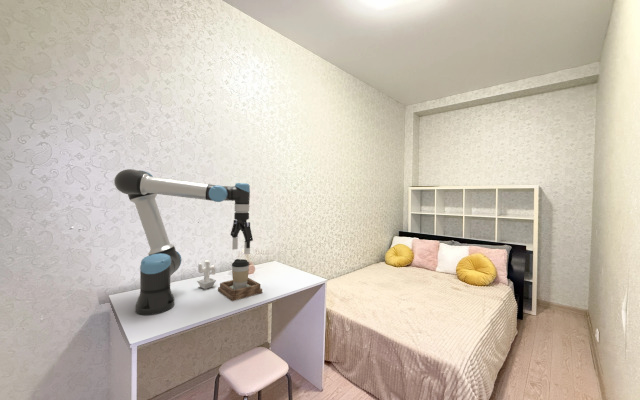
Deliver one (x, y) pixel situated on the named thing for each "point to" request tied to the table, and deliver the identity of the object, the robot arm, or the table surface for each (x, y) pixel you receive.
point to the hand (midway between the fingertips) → (240, 251)
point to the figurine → (206, 275)
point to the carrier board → (239, 290)
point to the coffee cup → (240, 273)
